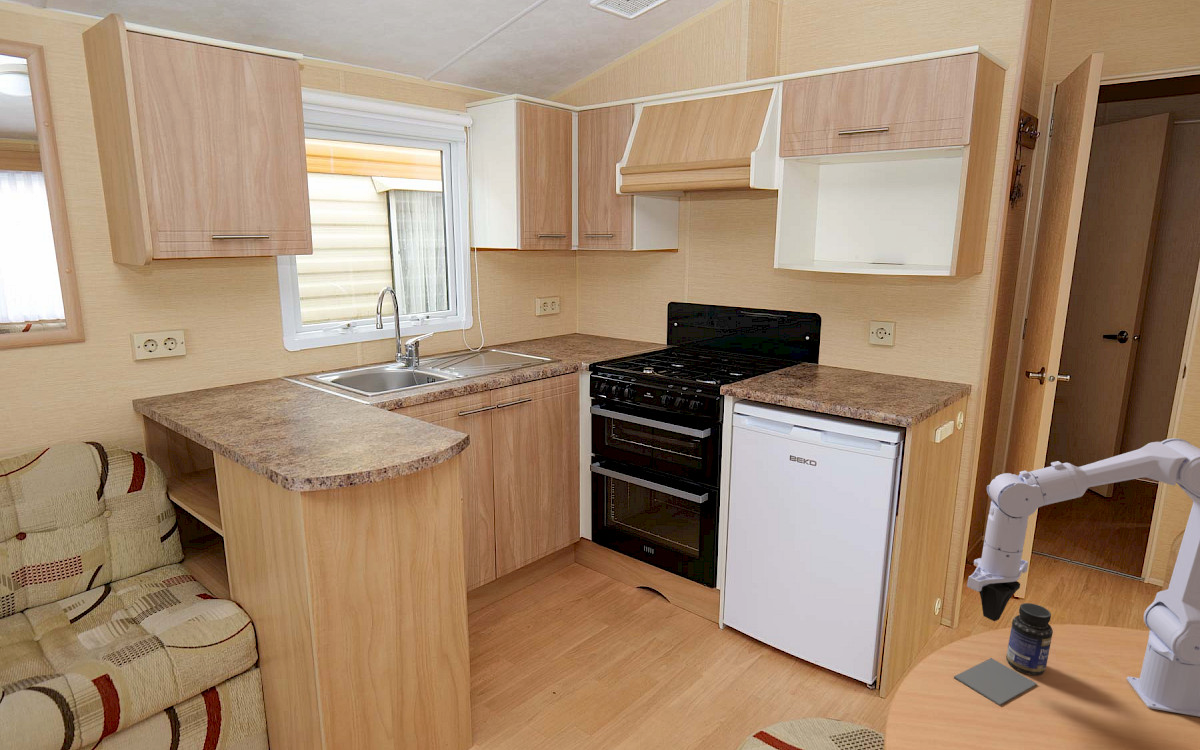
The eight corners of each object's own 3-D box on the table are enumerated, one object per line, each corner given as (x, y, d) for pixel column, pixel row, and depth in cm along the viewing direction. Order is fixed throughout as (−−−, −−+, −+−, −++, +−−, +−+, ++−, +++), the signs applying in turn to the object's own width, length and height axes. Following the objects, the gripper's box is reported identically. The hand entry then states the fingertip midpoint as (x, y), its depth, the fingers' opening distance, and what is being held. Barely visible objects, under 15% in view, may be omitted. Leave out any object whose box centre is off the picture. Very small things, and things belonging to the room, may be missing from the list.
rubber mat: (990, 659, 126) (991, 657, 126) (1036, 684, 119) (1036, 683, 119) (953, 677, 120) (954, 676, 120) (999, 705, 113) (999, 704, 113)
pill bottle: (1043, 681, 120) (1054, 624, 118) (1003, 667, 124) (1013, 611, 121) (1046, 664, 125) (1057, 608, 122) (1008, 650, 128) (1017, 596, 126)
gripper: (1004, 527, 124) (992, 596, 127) (955, 544, 117) (943, 617, 120) (1045, 543, 118) (1032, 615, 121) (996, 562, 111) (983, 638, 114)
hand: (991, 617), depth 120 cm, fingers closed
